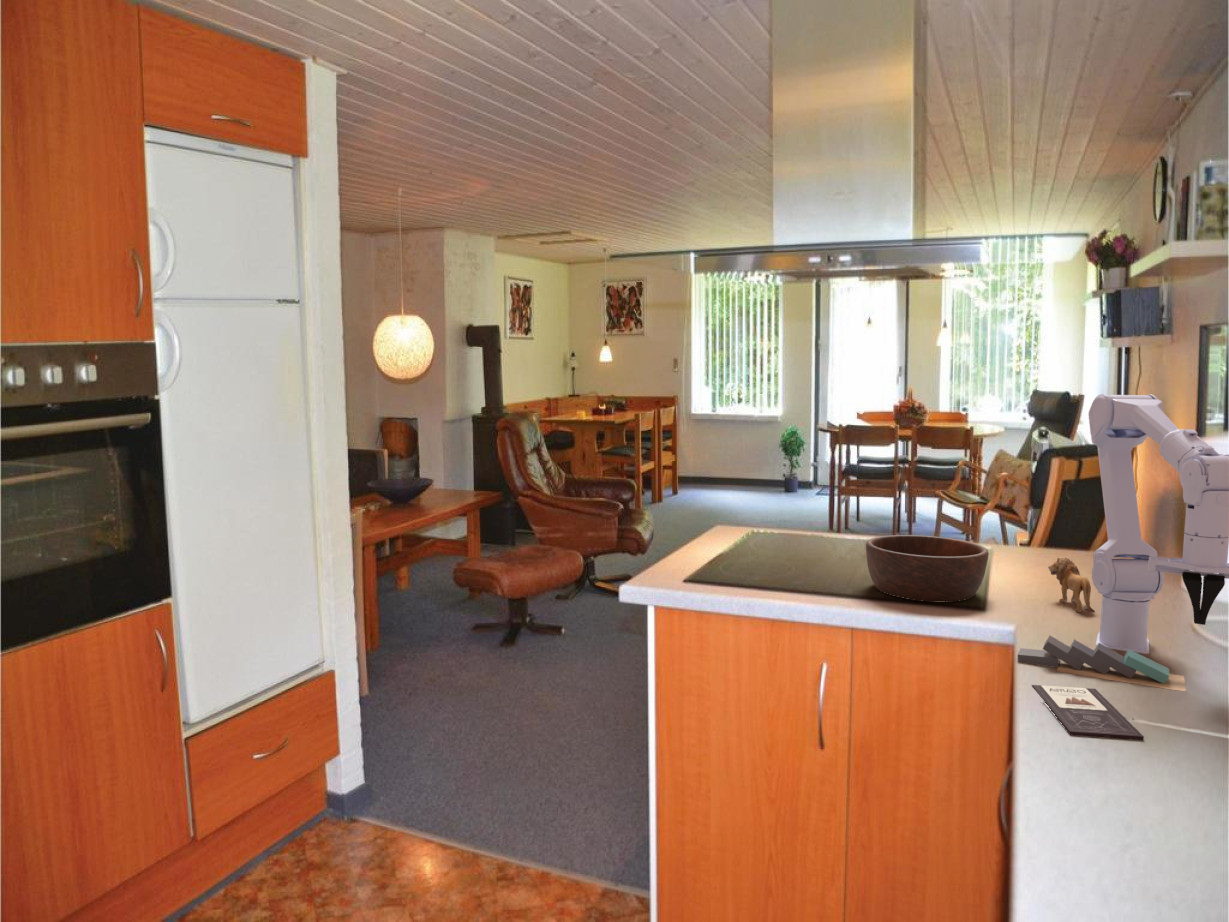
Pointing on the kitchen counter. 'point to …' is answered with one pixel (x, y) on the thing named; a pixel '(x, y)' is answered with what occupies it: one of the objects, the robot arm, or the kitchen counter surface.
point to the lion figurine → (1072, 582)
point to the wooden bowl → (926, 566)
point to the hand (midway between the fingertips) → (1199, 622)
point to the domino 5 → (1146, 666)
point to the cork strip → (1138, 678)
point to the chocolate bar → (1087, 713)
